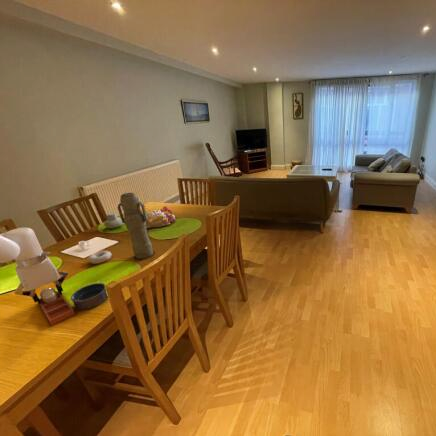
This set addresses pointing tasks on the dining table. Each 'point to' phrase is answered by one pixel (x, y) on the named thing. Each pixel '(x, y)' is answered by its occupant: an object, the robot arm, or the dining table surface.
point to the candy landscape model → (159, 218)
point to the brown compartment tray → (57, 309)
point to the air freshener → (112, 221)
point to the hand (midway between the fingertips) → (50, 297)
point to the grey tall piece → (136, 224)
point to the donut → (99, 257)
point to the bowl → (89, 296)
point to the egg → (48, 295)
